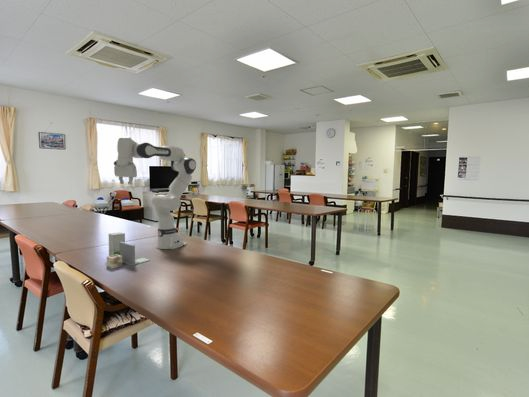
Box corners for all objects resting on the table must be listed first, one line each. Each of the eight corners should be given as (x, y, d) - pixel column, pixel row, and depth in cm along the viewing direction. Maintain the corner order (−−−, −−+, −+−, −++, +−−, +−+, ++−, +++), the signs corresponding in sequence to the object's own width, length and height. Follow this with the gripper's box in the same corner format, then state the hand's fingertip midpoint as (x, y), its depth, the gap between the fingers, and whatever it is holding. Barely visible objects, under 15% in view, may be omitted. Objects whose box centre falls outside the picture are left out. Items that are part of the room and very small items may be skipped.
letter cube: (116, 263, 176) (116, 253, 175) (122, 265, 173) (122, 255, 172) (106, 266, 171) (106, 256, 170) (112, 268, 168) (112, 258, 167)
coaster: (143, 258, 187) (143, 257, 187) (149, 260, 183) (149, 259, 183) (133, 261, 181) (133, 260, 181) (139, 263, 177) (139, 262, 177)
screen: (124, 259, 185) (124, 240, 183) (138, 263, 176) (137, 244, 175) (116, 261, 180) (116, 242, 179) (130, 266, 172) (130, 246, 171)
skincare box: (113, 258, 185) (112, 235, 184) (108, 256, 189) (107, 233, 187) (126, 256, 192) (125, 233, 190) (121, 254, 196) (120, 231, 194)
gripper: (139, 162, 182) (139, 184, 183) (121, 162, 193) (122, 183, 195) (129, 162, 177) (130, 184, 178) (112, 162, 188) (112, 183, 189)
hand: (125, 184), depth 187 cm, fingers open, 8 cm apart
